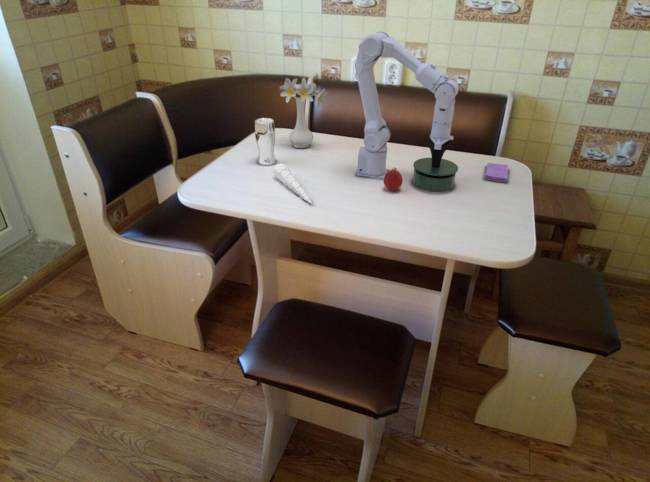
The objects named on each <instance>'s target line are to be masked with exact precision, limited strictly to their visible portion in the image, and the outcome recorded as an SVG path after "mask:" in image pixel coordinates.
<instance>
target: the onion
mask: <svg viewBox="0 0 650 482" xmlns="http://www.w3.org/2000/svg"><path fill="white" fill-rule="evenodd" d="M383 184H384V187H385V188H386V189H387V190H388V191H391V192H394V191H396V190H398V189H399V188H400V187H401V186H402V184H403V176H402V174H401V173H400V171H398V170H397V167H396V166H395V167H392V169H391V170H389V171H387V173H386V175H385V177H384V178H383Z"/></svg>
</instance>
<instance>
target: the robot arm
mask: <svg viewBox="0 0 650 482" xmlns="http://www.w3.org/2000/svg"><path fill="white" fill-rule="evenodd" d="M380 58H382V59H388V58H389V59H391V58H392V59H394V60H396V61H397V62H398V63H400V64H401V65H403V66H404V67H405V68H407V69H408V70H410V71H411V72H412V73H414V76H415V80H416V81H417V82H418V83H419V84H421V85H422V86H423V87H425V89H427V90H428V91H430V92H431V93H432V94H433V95H434V98H435V105H434V110H433V117H432V124H431V132H430V134H429V139H430V142H429V143H428V148H429V151H430V155H431V158H432V165H433V166H439V165H440V162H441V159H443V156H444V154H445V153H446V151H447V150H448V147H449V146H448V144H449V142H450V141H454V135H451V132H452V126H453V119H454V113H455V104H456V96H457V95H458V93H459V90H460V86H459V84H458V82H457V81H456V80H455V78H452V77H449V75H447V74H444V73H442V72H441V71H440V70H439V69H438V68H436V67H437V65H436V63H431V62H424V63H423V62H421V61H420V60H419V59H418V58H417V57H415V56H414V55H413V54H412V53H411V52H410V51H409V50H407V48H405V47H404V46H403V45H402V44H401V43H400V42H399V41H398V40H397V39H396V38H394V37H393V36H391V35H389V34H388V33H387V32H386V31H377V32H375V33H373V34H368V35H366V36H365V37H364V38H363V39H362V40H361V42H360V43H359V44H358V52H357V55H356V59H355V61H354V62H355V63H354V70H355V74H356V79H357V84H358V89H359V94H360V98H361V105H362V108H363V114H364V119H365V124H364V129H363V133H364V137H363V146H360V147H359V150H358V154H357V166H356V167H357V169H356V176H358V177H365V178H370V177H372V178H380V179H384V177H385V175H386V174H387V173H388V172H389V171H388V170H389V169H388V168H387V158H388V157H387V156H388V145H387V143H388V142H389V141H390V139H391V131H390V128H388V126H387V123H386V120H385V119H384V118H383V116H382V110H381V105H380V100H379V94H378V89H377V88H378V87H377V83H376V77H375V72H374V66H375V65H376V64H377V63H378V60H379V59H380Z"/></svg>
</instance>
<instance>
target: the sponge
mask: <svg viewBox="0 0 650 482" xmlns="http://www.w3.org/2000/svg"><path fill="white" fill-rule="evenodd" d="M508 177H509V164H502V163H500V164H499V163H492V162H487V165H486V171H485V175H484V180H487V181H490V182H491V181H492V182H498V183H505V184H506V183H507V182H508Z"/></svg>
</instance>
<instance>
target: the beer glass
mask: <svg viewBox="0 0 650 482" xmlns="http://www.w3.org/2000/svg"><path fill="white" fill-rule="evenodd" d="M254 136H255V142H256V146H257V149H258V150H257V151H258V160H257V161H258V164H259V165H261V166H270V165H274V164H275V163H276V156H275V145H276V144H275V143H276V126H275V120H274V119H273V118H270V117H259V118H257V119H255V120H254Z"/></svg>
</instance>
